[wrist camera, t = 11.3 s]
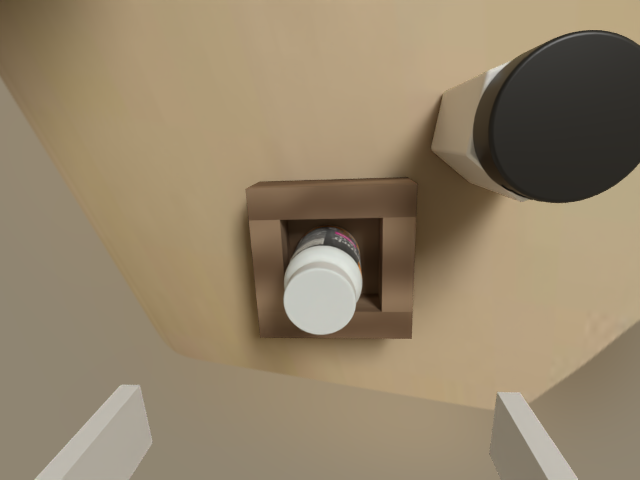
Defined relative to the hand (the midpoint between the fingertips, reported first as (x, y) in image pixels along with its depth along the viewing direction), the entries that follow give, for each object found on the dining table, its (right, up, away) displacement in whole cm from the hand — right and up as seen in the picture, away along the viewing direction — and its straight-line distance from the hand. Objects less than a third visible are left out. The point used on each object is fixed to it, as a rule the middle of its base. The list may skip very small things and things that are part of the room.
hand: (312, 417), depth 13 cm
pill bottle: (+1, +5, +19) cm, 20 cm away
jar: (+14, +16, +16) cm, 26 cm away
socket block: (+2, +6, +20) cm, 20 cm away
